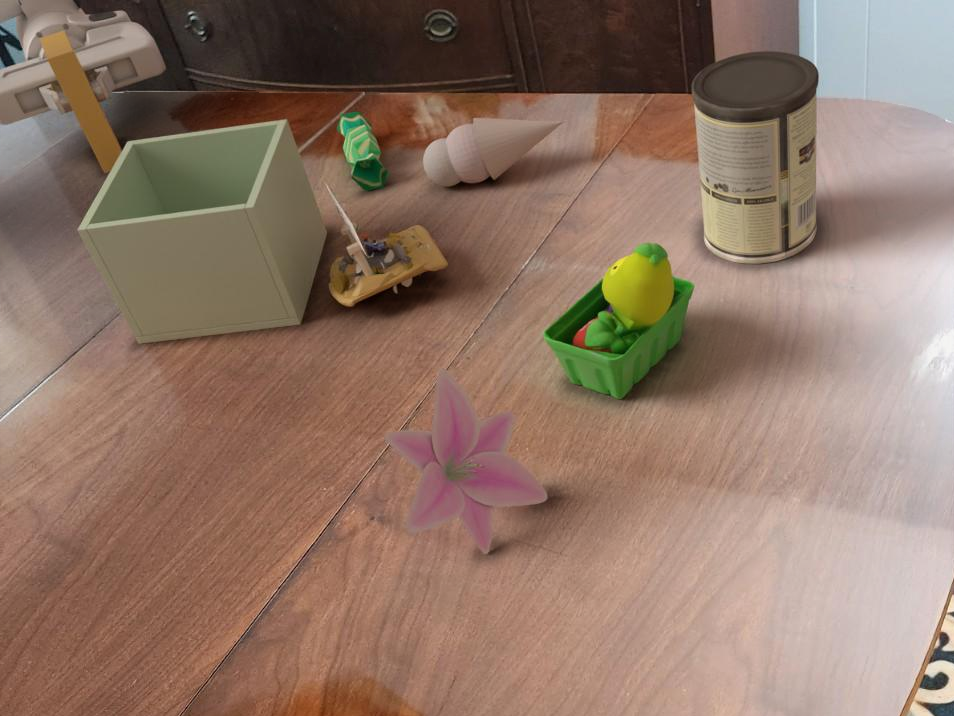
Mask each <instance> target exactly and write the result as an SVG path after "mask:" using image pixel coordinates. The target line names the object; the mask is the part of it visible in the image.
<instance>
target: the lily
mask: <svg viewBox="0 0 954 716" xmlns="http://www.w3.org/2000/svg"><path fill="white" fill-rule="evenodd" d="M434 392H435V394H434V402H433V403H434V404H433V412H432V413H433V414H432V419H431V420H432V422H431V431H430V430H425V429H402V430H393V431H388V432H386V433H385V434H383V437H384V440H385V441H386V442H387V443H388V444H389V445H390V447H392V449H394V450H395V451H396V452H397V453H398V454H399V455H400V456H401V457H402V458H404V460H406V462H407V463H409V464H410V465H411V466H413V468H415V469H416V470H417V471H419V472H420V473H421V475H420V477H419V480H418V484H417V486H416V491H415V493H414V496H413V498H412V502H411V504H410V508H409V511H408V513H407V517H406V522H405V529H406V533H409V534H418V533H423V532H426V531H429V530H432V529H434V528H437V527H440V526H442V525H444V524H447V523H449V522H452V521H453V520H455V519H457V518H459V520H460V521H461V523H462V525H463V526H464V528H465V529H466V531H467V533H468V535H469V536H470V537H471V539H472V540H473V542H474V543H475V545H476V546H477V548H479V550H480V551H481V552H482V554H484V555H488V553H489V552H490V550H491V545H492V540H493V535H494V534H493V533H494V523H495V522H494V521H495V515H494V514H495V510H494V507H496V508H497V507H502V508H508V507H522V506H530V505H531V506H532V505H538V504H541V503H544V502H546V501H547V500H548V499H549V498H548V494H547V491H546V490H545V488H544V487H543V485H542V484H541V482H539V480H537V478H536V477H535V476H534V475H533V474H532V473H531V472H530V471H529V470H528V469H527V468H526V467H525V466H524V465H522V463H520V462H519V461H518V460H517V459H515V458H514V457H512V456H511V455H509V454H507V453H506V452H507V448H508V446H509V444H510V440H511V438H512V434H513V431H514V426H515V422H516V415H515V414H516V413H515V412H514V411H512V410H509V411H503V412H500V413H495V414H493V415H490V416H488V417H484V418H483V419H481V420H480V419H479V416H478V413H477V410H476V408H475V406H474V404H473V402H472V401H471V399H470V397H469V396H468V395H467V393H466V391H465V390H464V388H463V387H462V386H461V384H460V382H458V380H457V379H456V378H455V377H454V375H452V373H450V371H449V370H448V369H446V368H443V367H441V369H439V370H438V374H437V378H436V384H435V391H434Z"/></svg>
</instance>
